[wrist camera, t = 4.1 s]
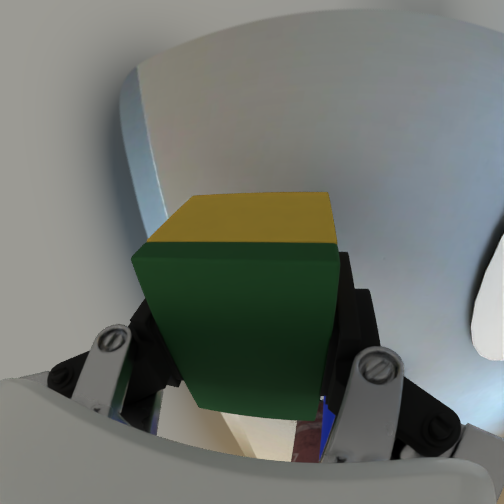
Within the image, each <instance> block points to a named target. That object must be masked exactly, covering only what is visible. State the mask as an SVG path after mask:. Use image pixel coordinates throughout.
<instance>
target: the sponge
mask: <svg viewBox="0 0 504 504" xmlns="http://www.w3.org/2000/svg"><path fill="white" fill-rule="evenodd" d="M131 261H132V264H133V267H134V269H135V272H136V275H137V277H138V280H139V282H140V285H141V288H142V290H143V293H144V295H145V298H146V300H147V303H148V305H149V308H150V310H151V312H152V315H153V317H154V319H155V322H156V324H157V326H158V328H159V330H160V332H161V335H162V337H163V339H164V341H165V343H166V345H167V347H168V350H169V352H170V354H171V356H172V358H173V360H174V362H175V364H176V366H177V368H178V370H179V372H180V374H181V376H182V377H183V379H184V381H185V383H186V385H187V387H188V389H189V391H190V392H191V394H192V396H193V398H194V400H195V401H196V403H197V405H198V407H199V408H203V409H209V410H214V411H219V412H225V413H231V414H238V415H245V416H253V417H261V418H271V419H283V420H299V421H314V420H315V419H316V414H317V410H318V406H319V401H320V397H321V396H320V392H321V387H322V382H323V377H324V371H325V366H326V360H327V354H328V348H329V342H330V338H331V335H332V330H333V323H334V316H335V308H336V300H337V292H338V283H339V273H340V258H339V251H338V246H337V237H336V231H335V225H334V219H333V214H332V209H331V203H330V198H329V194H328V192H265V193H234V194H213V195H196V196H192V197H191V198H190V199H189V200H188V201H187V202H186V203H185V204H183V205H182V206H181V207H180V208H179V209H178V210H177V211H176V212H175V213H174V214H173V215H172V216H171V217H170V218H169V219H168V220H167V221H166V222H165V223H164V224H163V225H162V226H161V227H160V228H159V229H158V230H157V231H156V232H155V233H154V234H153V235H152V236H151V237H150V238H149V239H148V240H147V242H146V243H145V244H143V245H142V247H141V248H140V249H139V250H138V251H137V252H136V253H135V254H134V255H133V256H132V258H131Z"/></svg>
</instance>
